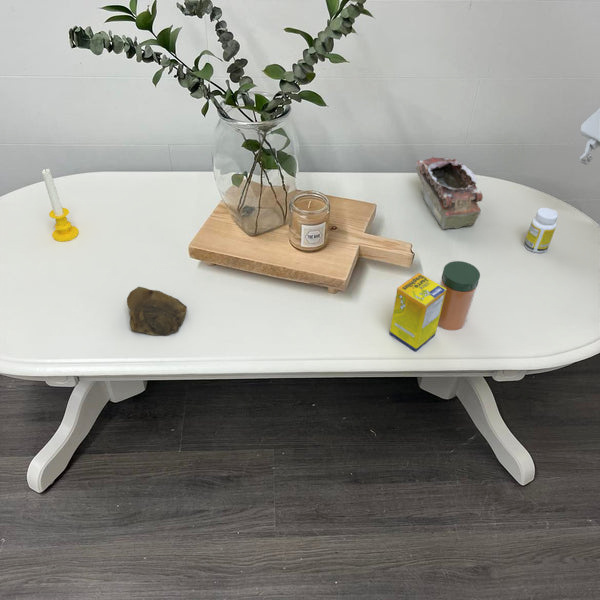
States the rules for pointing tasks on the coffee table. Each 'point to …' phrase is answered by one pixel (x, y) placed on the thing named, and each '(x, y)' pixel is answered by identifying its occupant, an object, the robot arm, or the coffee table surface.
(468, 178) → the decorative box
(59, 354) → the coffee table surface
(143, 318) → the decorative stone
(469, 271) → the lid
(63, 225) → the candle
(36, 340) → the coffee table surface
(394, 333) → the supplement box
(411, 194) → the coffee table surface
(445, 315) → the jar
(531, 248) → the supplement bottle
